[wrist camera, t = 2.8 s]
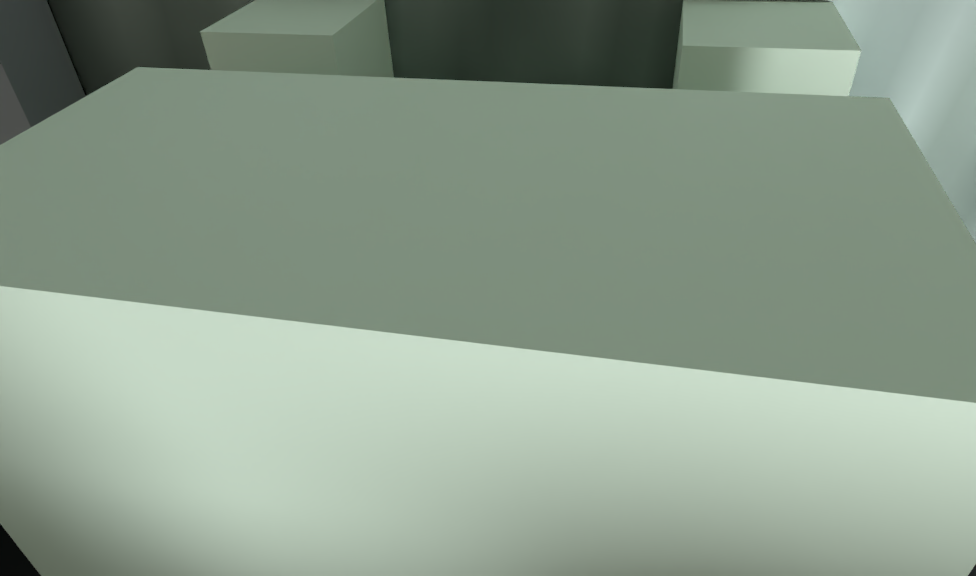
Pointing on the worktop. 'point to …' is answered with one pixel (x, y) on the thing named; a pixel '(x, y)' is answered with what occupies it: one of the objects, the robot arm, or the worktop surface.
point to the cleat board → (32, 67)
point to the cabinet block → (486, 316)
